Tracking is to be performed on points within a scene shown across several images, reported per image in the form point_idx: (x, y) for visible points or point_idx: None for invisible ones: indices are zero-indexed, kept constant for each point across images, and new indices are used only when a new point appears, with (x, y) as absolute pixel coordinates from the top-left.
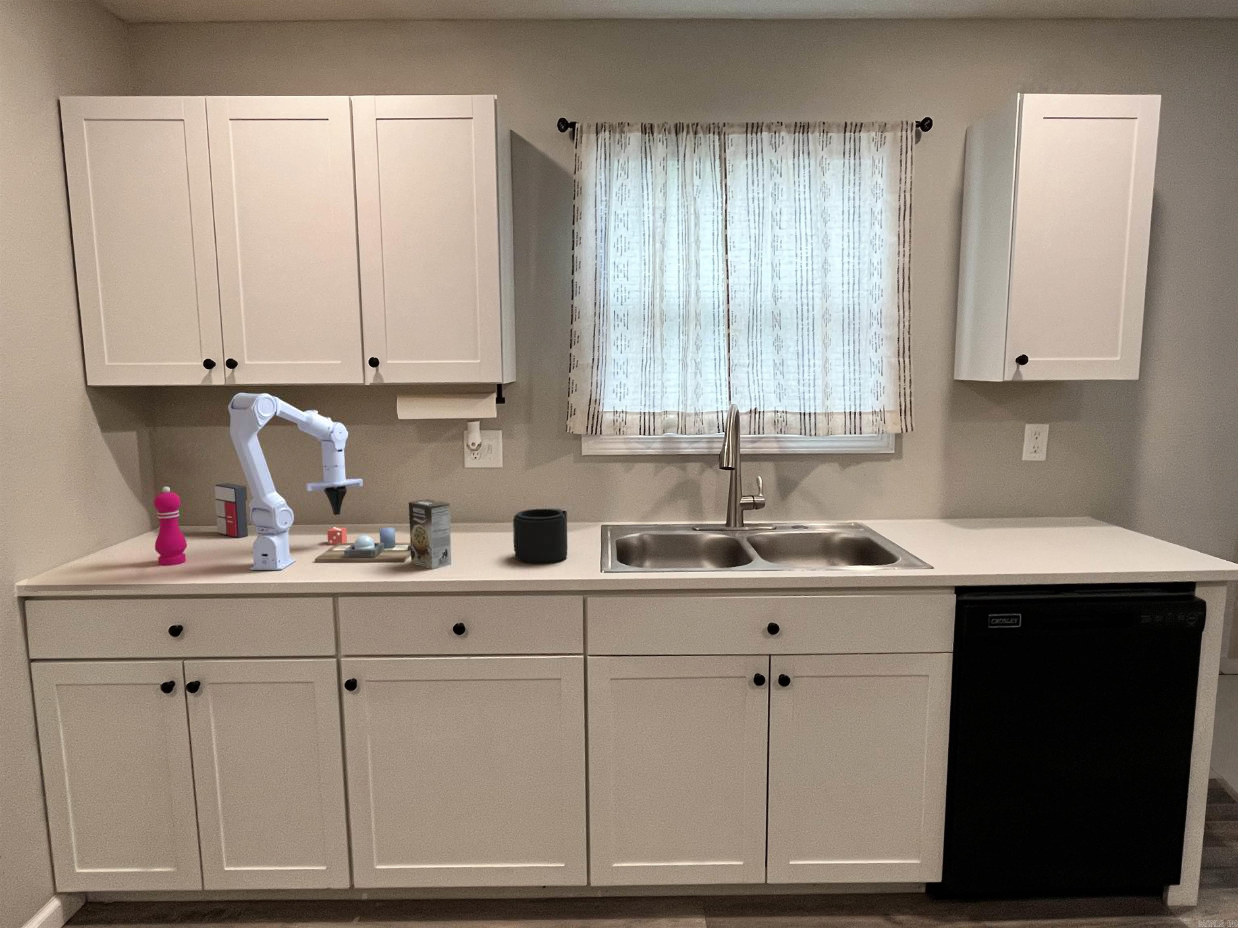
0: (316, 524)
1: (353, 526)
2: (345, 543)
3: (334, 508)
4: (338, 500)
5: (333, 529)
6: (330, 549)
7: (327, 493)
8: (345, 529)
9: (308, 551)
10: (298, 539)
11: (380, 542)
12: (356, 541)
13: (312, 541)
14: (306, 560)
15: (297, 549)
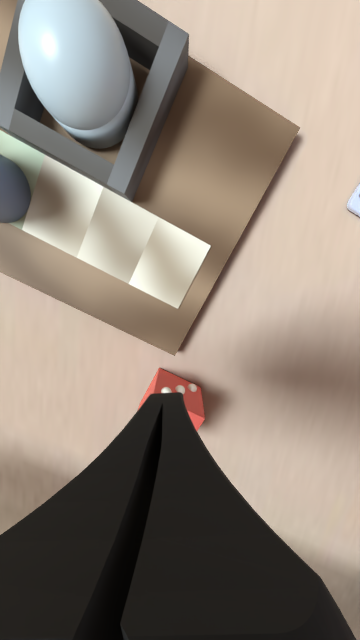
0: None
1: None
2: (151, 335)
3: (184, 415)
4: (133, 468)
5: None
6: (214, 266)
7: (337, 621)
8: None
9: (273, 329)
10: (265, 486)
11: (11, 175)
12: (112, 27)
13: (235, 448)
14: (311, 193)
15: (297, 372)
